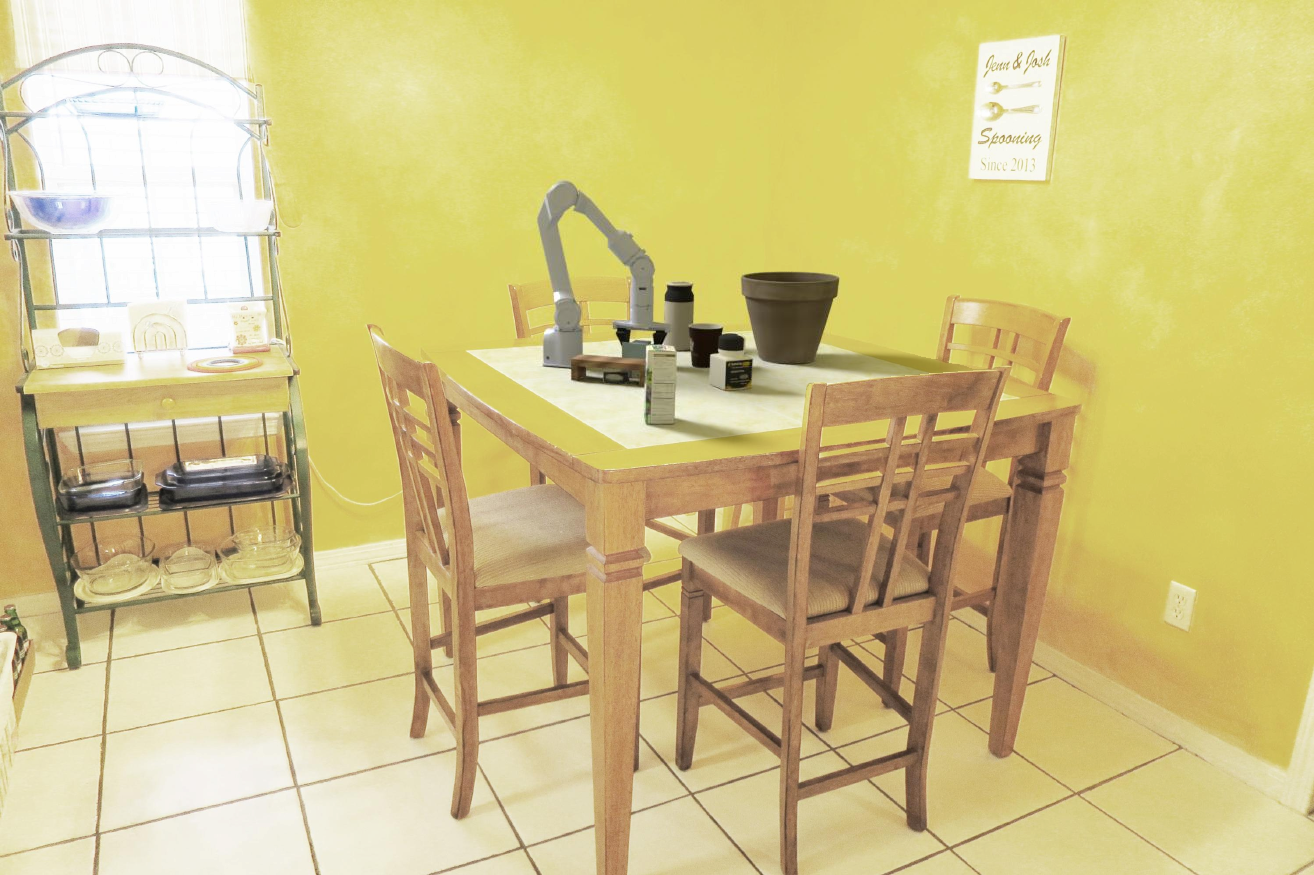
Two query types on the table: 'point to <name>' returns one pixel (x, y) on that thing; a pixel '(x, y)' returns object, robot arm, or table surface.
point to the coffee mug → (704, 343)
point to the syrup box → (660, 384)
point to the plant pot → (788, 312)
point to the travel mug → (679, 313)
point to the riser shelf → (606, 365)
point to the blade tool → (635, 352)
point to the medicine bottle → (731, 364)
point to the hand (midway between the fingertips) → (641, 359)
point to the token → (616, 376)
